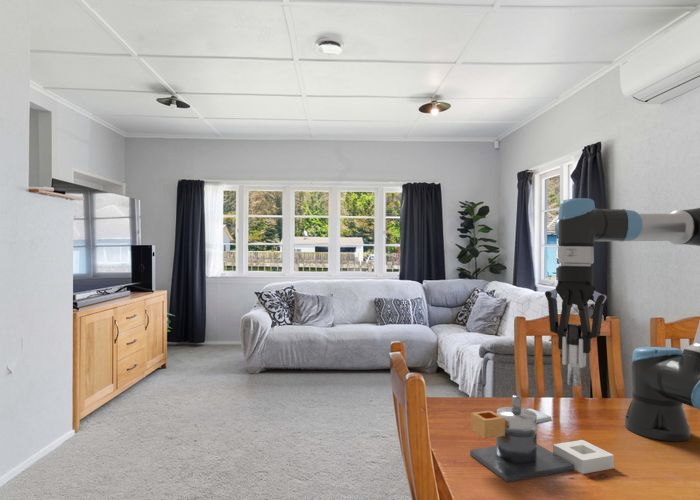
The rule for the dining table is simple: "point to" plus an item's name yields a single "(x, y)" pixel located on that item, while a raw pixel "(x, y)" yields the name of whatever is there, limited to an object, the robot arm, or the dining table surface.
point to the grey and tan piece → (505, 421)
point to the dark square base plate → (520, 458)
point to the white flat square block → (584, 456)
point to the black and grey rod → (573, 354)
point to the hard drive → (541, 416)
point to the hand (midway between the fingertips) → (573, 364)
